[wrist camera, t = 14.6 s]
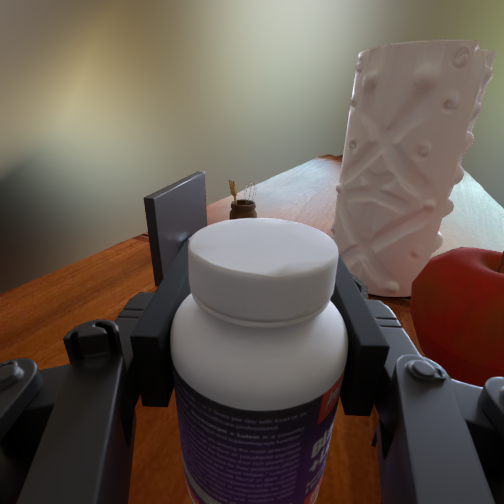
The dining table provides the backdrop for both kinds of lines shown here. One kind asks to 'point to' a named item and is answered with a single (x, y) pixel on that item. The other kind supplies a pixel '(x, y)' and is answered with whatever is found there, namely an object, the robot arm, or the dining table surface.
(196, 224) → the monitor screen
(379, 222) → the vase
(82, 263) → the dining table surface
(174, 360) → the pill bottle
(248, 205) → the utensil holder
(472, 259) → the apple
